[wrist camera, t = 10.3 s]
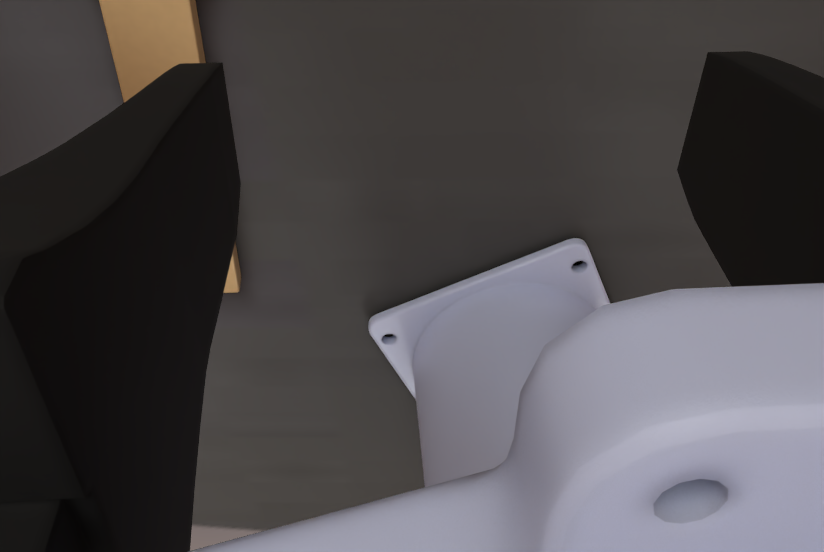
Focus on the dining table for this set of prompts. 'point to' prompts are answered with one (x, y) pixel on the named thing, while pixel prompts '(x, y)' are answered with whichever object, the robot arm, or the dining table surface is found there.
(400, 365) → the robot arm
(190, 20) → the salad fork
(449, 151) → the dining table surface
